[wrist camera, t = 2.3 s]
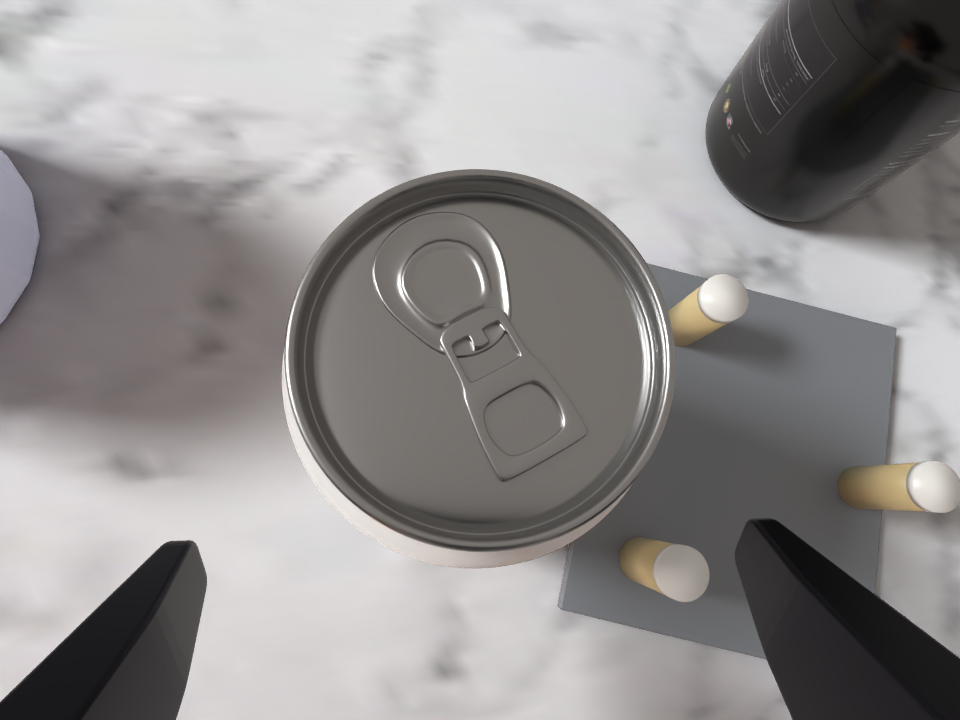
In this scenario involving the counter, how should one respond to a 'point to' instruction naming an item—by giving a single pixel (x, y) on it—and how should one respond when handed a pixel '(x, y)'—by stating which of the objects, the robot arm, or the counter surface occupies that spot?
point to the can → (476, 368)
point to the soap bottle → (15, 235)
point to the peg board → (751, 463)
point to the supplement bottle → (835, 103)
